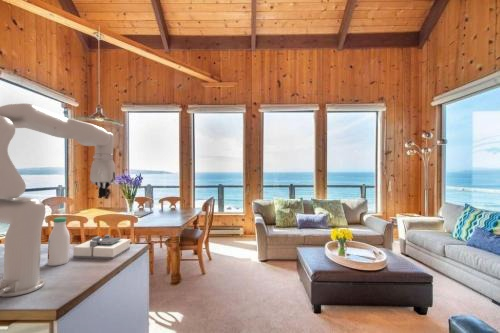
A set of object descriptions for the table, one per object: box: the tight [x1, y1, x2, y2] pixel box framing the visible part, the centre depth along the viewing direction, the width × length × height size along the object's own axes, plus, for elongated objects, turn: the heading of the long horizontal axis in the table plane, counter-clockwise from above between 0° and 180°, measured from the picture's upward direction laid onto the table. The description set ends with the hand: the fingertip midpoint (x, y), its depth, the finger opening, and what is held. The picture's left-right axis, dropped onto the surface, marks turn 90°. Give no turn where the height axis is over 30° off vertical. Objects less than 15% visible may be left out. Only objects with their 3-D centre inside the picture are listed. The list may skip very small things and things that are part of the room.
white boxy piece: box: [72, 234, 131, 260], centre depth 127 cm, size 16×19×8 cm
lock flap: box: [97, 237, 121, 244], centre depth 127 cm, size 9×9×2 cm
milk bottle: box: [47, 216, 71, 267], centre depth 113 cm, size 8×8×20 cm
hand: (102, 196), depth 121 cm, fingers closed
